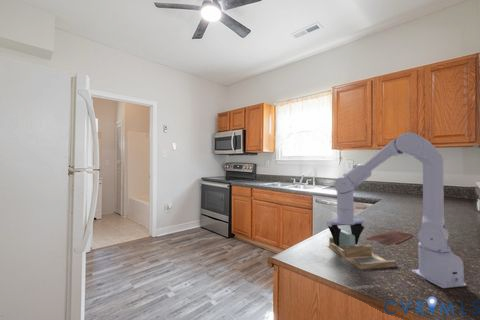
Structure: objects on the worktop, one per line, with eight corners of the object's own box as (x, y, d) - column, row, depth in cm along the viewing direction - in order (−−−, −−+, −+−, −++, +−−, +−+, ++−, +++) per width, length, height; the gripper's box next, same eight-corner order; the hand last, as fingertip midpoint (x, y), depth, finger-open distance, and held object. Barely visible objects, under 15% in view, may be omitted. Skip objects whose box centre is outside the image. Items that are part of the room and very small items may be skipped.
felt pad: (387, 265, 72) (387, 264, 72) (365, 267, 71) (365, 266, 71) (373, 257, 78) (373, 256, 78) (353, 259, 77) (353, 258, 77)
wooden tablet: (394, 228, 110) (417, 231, 102) (394, 233, 110) (418, 236, 101) (363, 238, 97) (387, 242, 88) (364, 243, 97) (388, 248, 88)
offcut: (360, 249, 85) (360, 245, 85) (353, 250, 85) (353, 246, 85) (354, 246, 88) (354, 242, 88) (347, 246, 88) (347, 242, 88)
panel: (355, 255, 80) (354, 235, 80) (350, 255, 80) (350, 236, 80) (341, 246, 88) (341, 229, 88) (337, 247, 88) (337, 229, 88)
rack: (396, 267, 71) (396, 255, 71) (360, 271, 69) (360, 258, 69) (355, 245, 91) (355, 235, 91) (326, 247, 89) (326, 237, 89)
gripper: (355, 205, 89) (355, 239, 89) (322, 207, 87) (322, 241, 87) (367, 209, 82) (368, 245, 82) (332, 211, 80) (332, 248, 80)
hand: (345, 244), depth 84 cm, fingers open, 7 cm apart
